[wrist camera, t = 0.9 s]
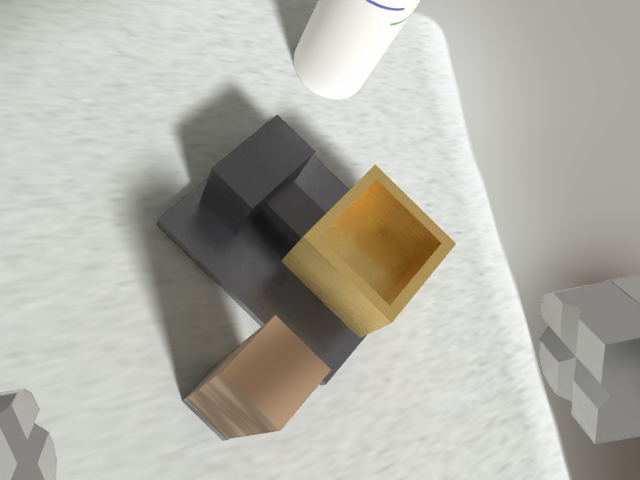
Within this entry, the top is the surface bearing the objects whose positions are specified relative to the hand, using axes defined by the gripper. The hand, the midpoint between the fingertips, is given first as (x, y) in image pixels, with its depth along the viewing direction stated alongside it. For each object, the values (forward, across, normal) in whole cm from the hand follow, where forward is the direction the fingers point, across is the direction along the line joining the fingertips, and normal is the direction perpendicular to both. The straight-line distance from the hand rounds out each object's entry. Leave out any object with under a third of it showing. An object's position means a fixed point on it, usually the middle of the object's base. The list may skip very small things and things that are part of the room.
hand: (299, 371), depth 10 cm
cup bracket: (+37, -2, +16) cm, 40 cm away
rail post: (+28, +6, +23) cm, 37 cm away
